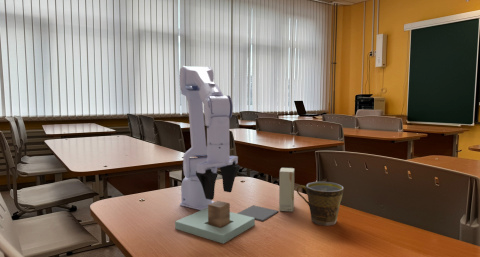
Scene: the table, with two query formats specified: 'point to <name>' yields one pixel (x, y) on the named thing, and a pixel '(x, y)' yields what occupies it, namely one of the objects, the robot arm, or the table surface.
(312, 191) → the ceramic cup
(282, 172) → the skincare box
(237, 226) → the pocket board
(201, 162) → the robot arm
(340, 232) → the table surface
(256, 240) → the table surface
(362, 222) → the table surface
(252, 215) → the rubber mat
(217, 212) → the walnut block
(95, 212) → the table surface
